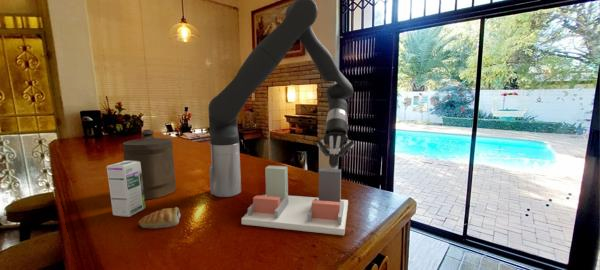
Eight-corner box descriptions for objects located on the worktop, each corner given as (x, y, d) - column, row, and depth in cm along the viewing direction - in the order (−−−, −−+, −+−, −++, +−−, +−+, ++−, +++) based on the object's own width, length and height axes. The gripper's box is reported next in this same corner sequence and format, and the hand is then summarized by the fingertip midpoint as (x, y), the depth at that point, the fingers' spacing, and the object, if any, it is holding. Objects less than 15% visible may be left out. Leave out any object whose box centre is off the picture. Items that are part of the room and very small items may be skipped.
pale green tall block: (266, 200, 77) (265, 168, 76) (269, 196, 80) (268, 165, 79) (285, 202, 76) (284, 169, 75) (288, 198, 79) (287, 166, 77)
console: (241, 224, 66) (240, 203, 65) (266, 198, 83) (266, 181, 83) (344, 235, 60) (344, 213, 59) (348, 204, 77) (348, 187, 77)
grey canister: (176, 183, 100) (171, 126, 97) (176, 195, 86) (171, 130, 83) (130, 189, 93) (124, 128, 90) (123, 203, 80) (115, 133, 77)
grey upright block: (318, 204, 74) (318, 171, 72) (320, 200, 77) (320, 168, 75) (339, 206, 72) (340, 172, 71) (340, 202, 75) (341, 169, 74)
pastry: (136, 233, 62) (135, 218, 62) (142, 221, 69) (141, 207, 68) (179, 226, 66) (178, 212, 65) (181, 215, 72) (180, 202, 71)
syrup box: (129, 217, 71) (124, 165, 69) (111, 215, 72) (105, 164, 70) (146, 208, 76) (141, 160, 74) (129, 207, 77) (124, 160, 75)
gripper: (317, 117, 90) (311, 159, 80) (355, 117, 87) (354, 161, 77) (319, 130, 96) (314, 171, 86) (355, 130, 93) (354, 173, 83)
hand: (333, 166), depth 82 cm, fingers closed
